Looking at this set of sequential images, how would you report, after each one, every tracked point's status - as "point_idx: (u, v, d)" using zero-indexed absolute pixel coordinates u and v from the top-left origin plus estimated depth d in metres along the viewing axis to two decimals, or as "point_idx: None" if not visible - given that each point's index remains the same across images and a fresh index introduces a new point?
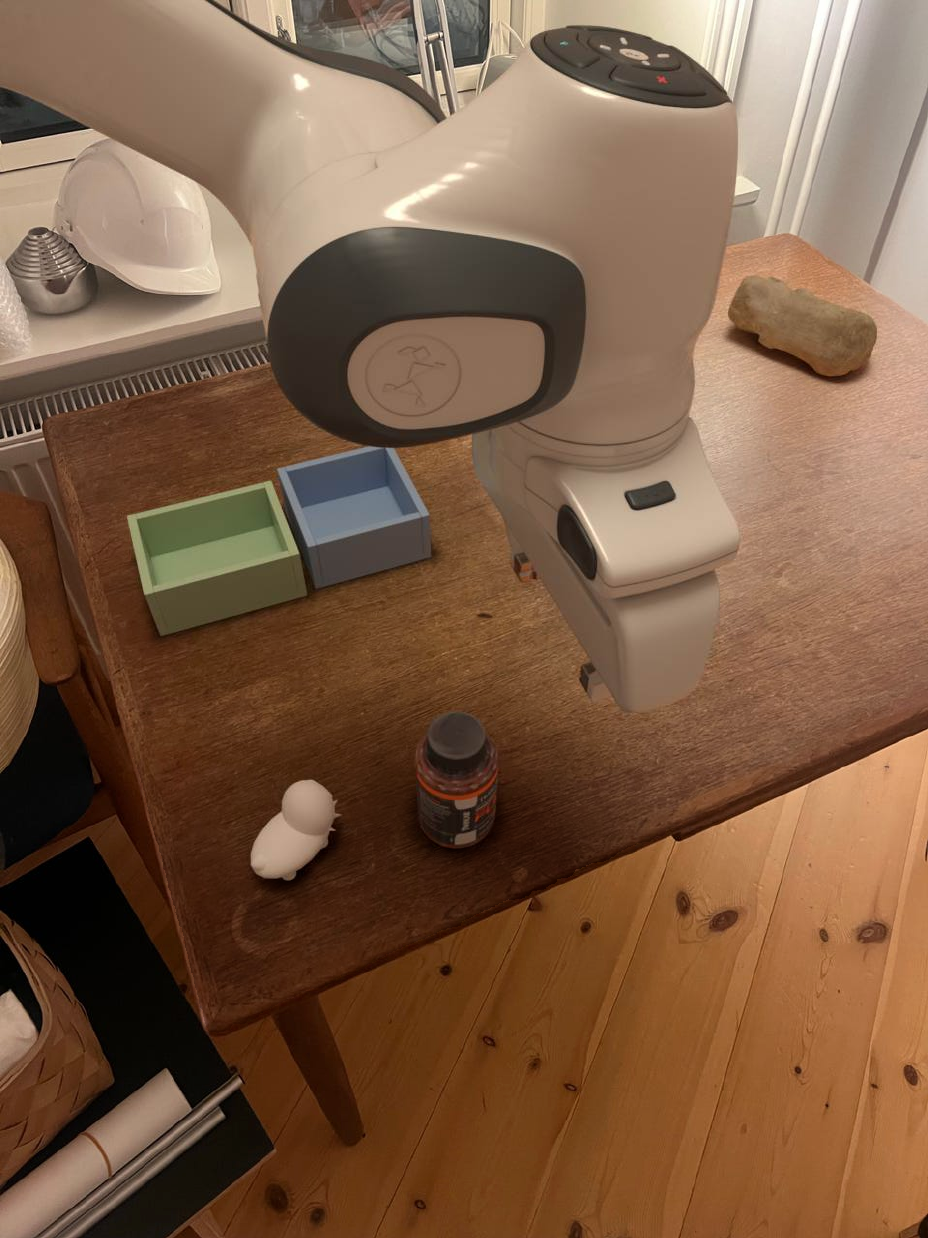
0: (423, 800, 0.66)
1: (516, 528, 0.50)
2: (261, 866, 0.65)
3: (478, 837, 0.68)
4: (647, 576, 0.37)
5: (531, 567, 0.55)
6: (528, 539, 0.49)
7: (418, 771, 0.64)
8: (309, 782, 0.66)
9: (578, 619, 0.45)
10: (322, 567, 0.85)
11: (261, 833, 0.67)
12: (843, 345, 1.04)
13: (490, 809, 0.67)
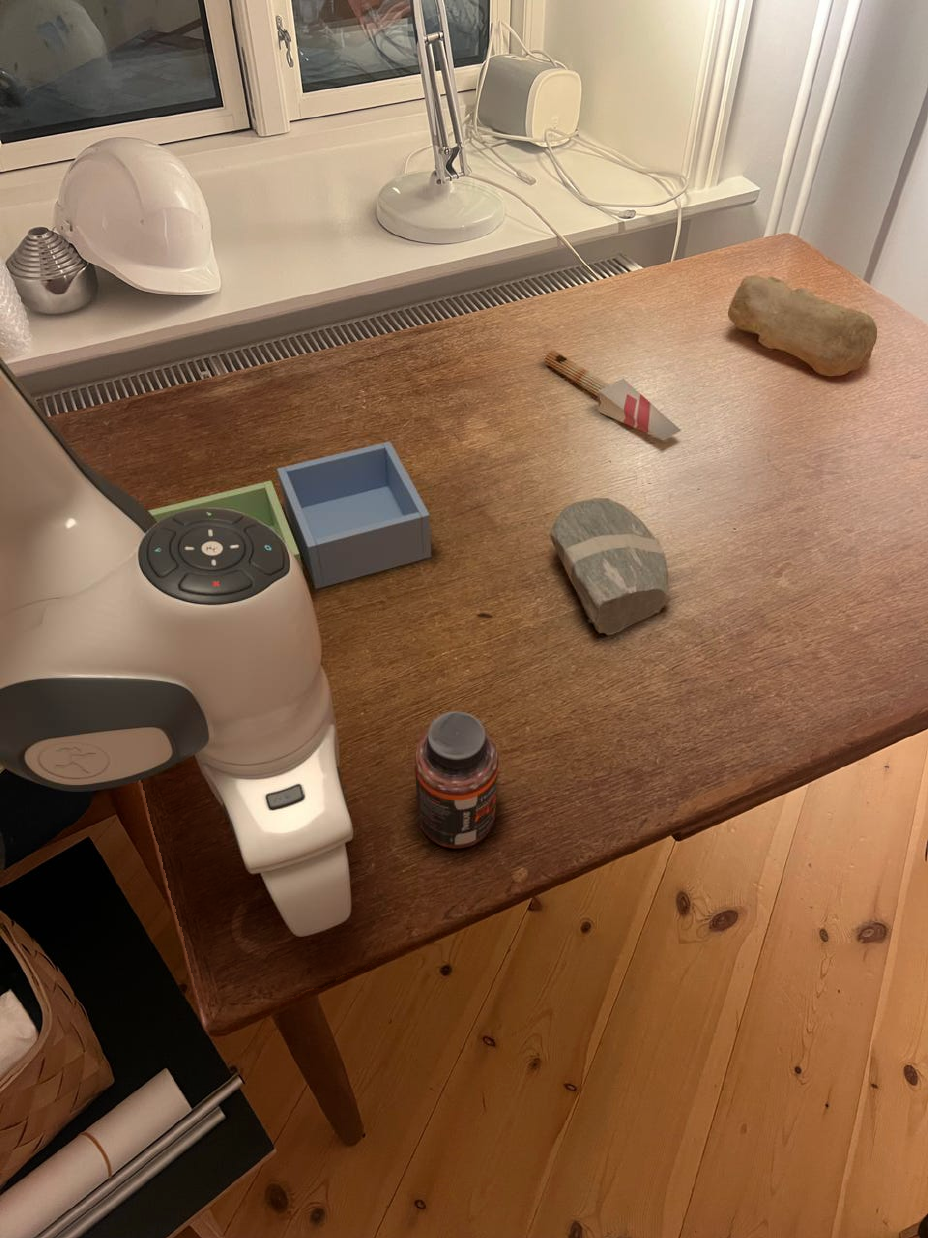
0: (423, 800, 0.66)
1: None
2: None
3: (478, 837, 0.68)
4: (276, 861, 0.52)
5: None
6: None
7: (418, 771, 0.64)
8: None
9: None
10: (322, 567, 0.85)
11: None
12: (843, 345, 1.04)
13: (490, 809, 0.67)
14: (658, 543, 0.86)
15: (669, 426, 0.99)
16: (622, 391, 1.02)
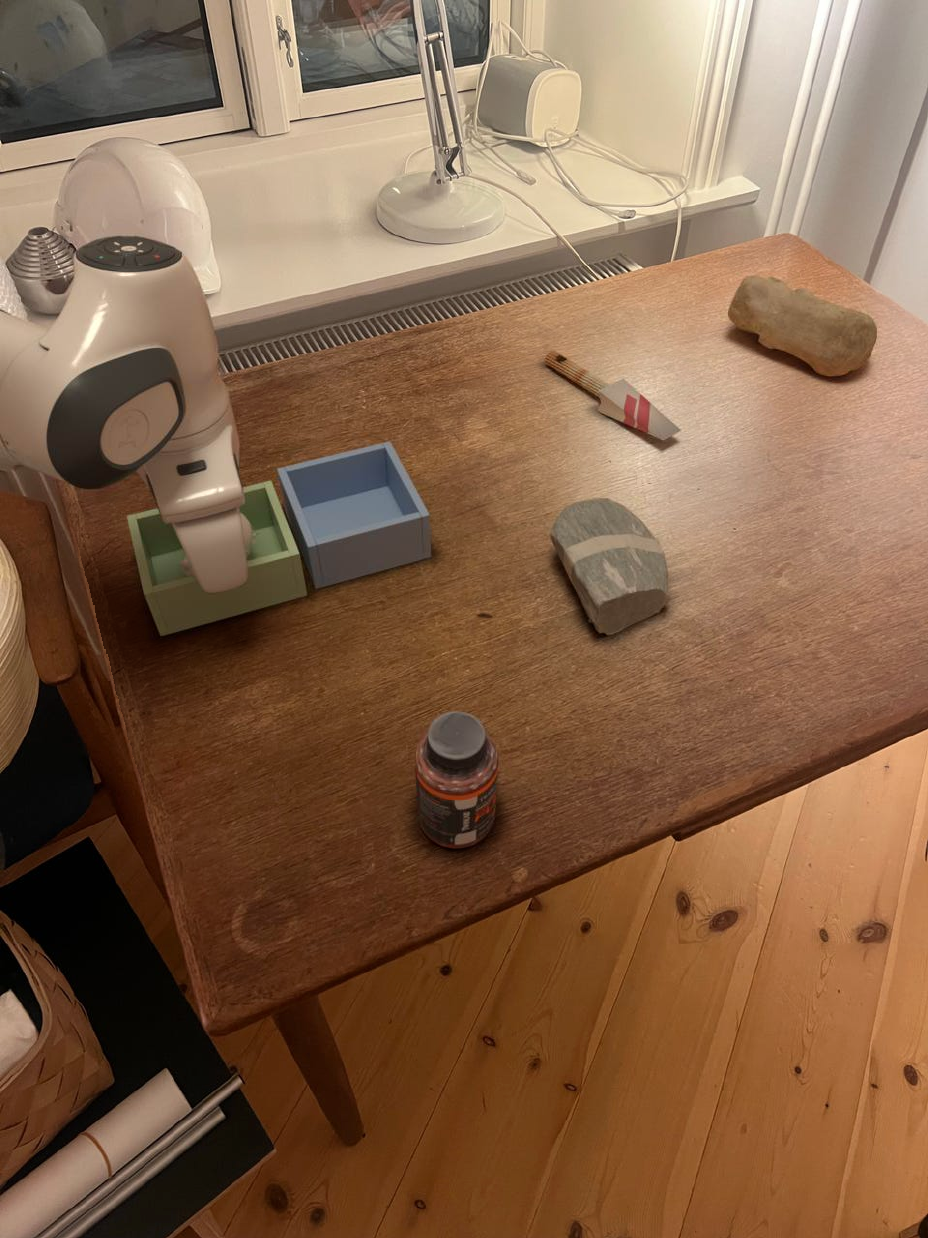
0: (423, 800, 0.66)
1: None
2: (187, 567, 0.83)
3: (478, 837, 0.68)
4: (183, 510, 0.69)
5: None
6: None
7: (418, 771, 0.64)
8: None
9: None
10: (322, 567, 0.85)
11: None
12: (843, 345, 1.04)
13: (490, 809, 0.67)
14: (658, 543, 0.86)
15: (669, 426, 0.99)
16: (622, 391, 1.02)
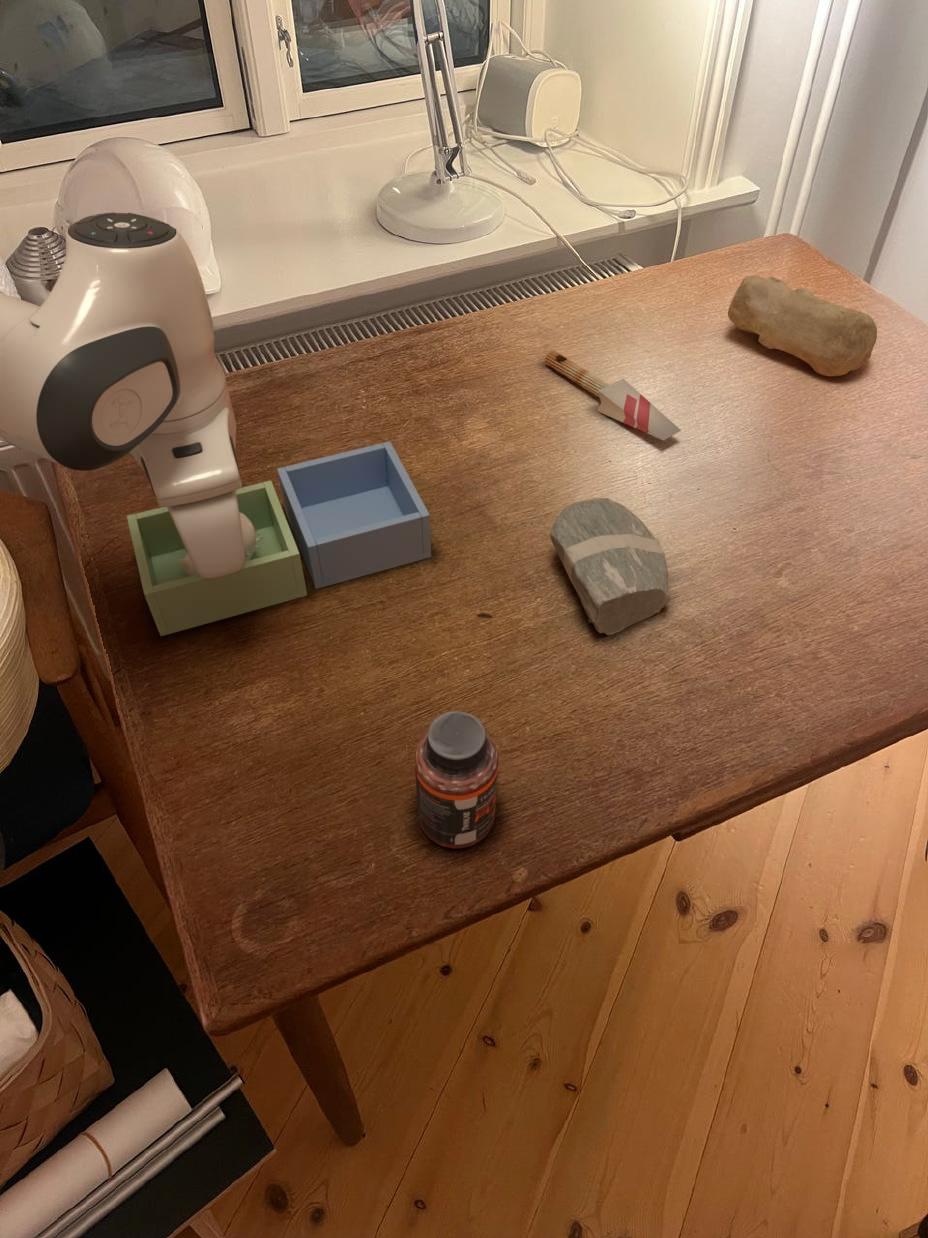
0: (423, 800, 0.66)
1: None
2: (186, 565, 0.83)
3: (478, 837, 0.68)
4: (179, 493, 0.68)
5: None
6: None
7: (418, 771, 0.64)
8: None
9: None
10: (322, 567, 0.85)
11: None
12: (843, 345, 1.04)
13: (490, 809, 0.67)
14: (658, 543, 0.86)
15: (669, 426, 0.99)
16: (622, 391, 1.02)
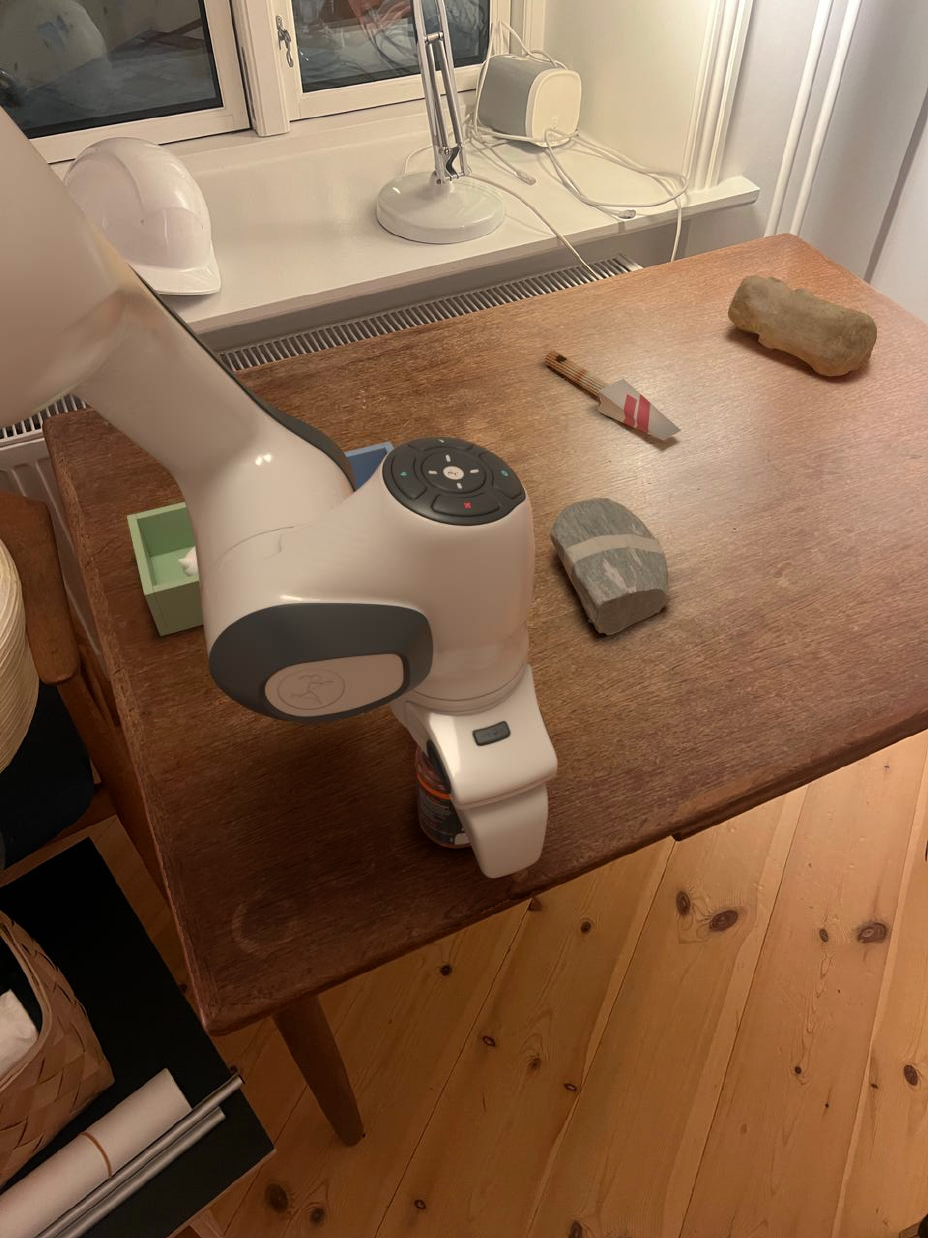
0: (423, 800, 0.66)
1: None
2: (186, 565, 0.83)
3: None
4: (486, 796, 0.51)
5: None
6: None
7: (418, 771, 0.64)
8: None
9: None
10: None
11: None
12: (843, 345, 1.04)
13: None
14: (658, 543, 0.86)
15: (669, 426, 0.99)
16: (622, 391, 1.02)
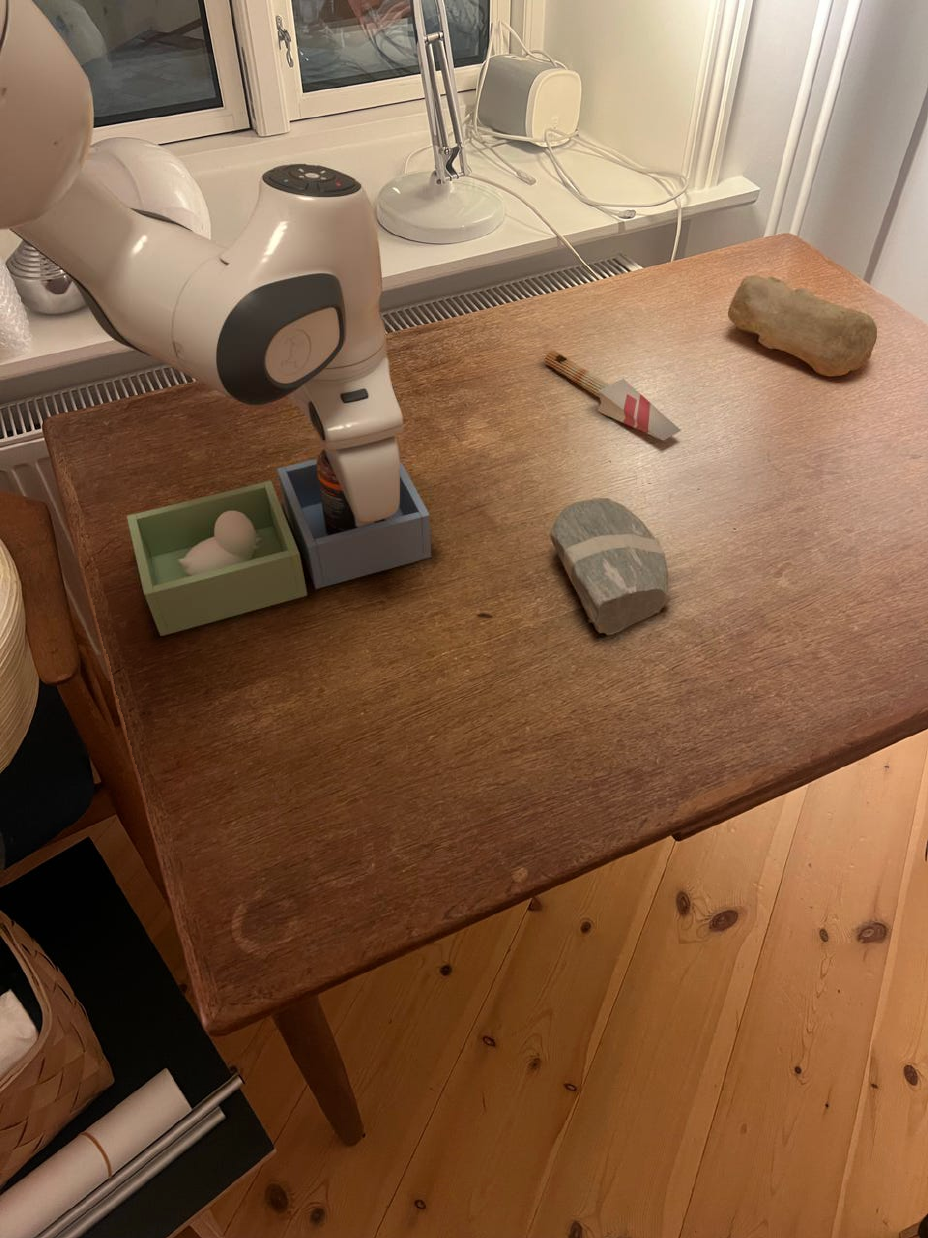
0: (324, 499, 0.85)
1: (316, 429, 0.84)
2: (186, 565, 0.83)
3: None
4: (348, 436, 0.71)
5: None
6: None
7: (318, 470, 0.84)
8: (238, 512, 0.84)
9: (338, 474, 0.79)
10: (322, 567, 0.85)
11: (196, 545, 0.85)
12: (843, 345, 1.04)
13: None
14: (658, 543, 0.86)
15: (669, 426, 0.99)
16: (622, 391, 1.02)
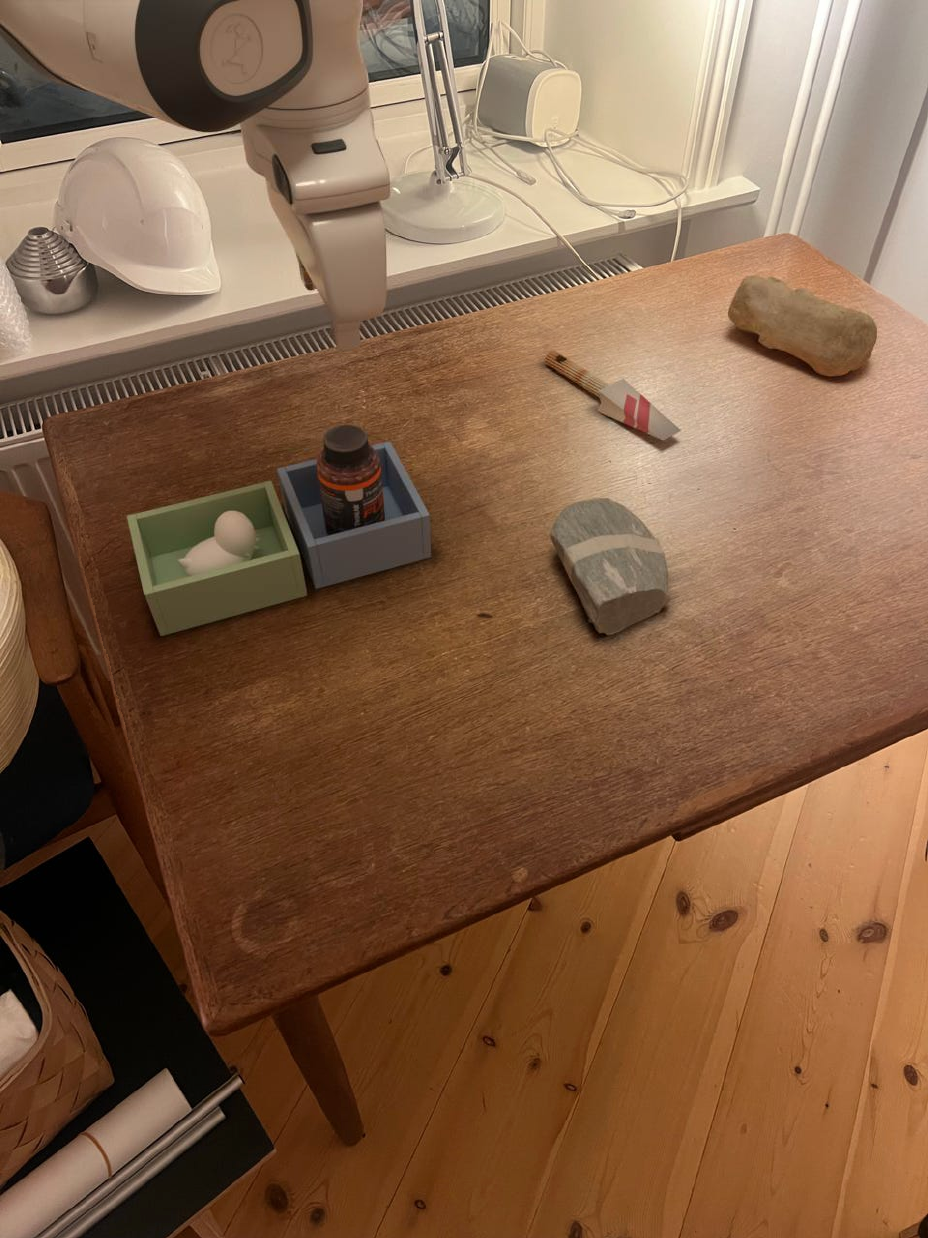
0: (324, 499, 0.85)
1: (287, 228, 0.70)
2: (186, 565, 0.83)
3: None
4: (321, 193, 0.57)
5: None
6: (291, 230, 0.69)
7: (318, 470, 0.84)
8: (238, 512, 0.84)
9: (312, 269, 0.65)
10: (322, 567, 0.85)
11: (196, 545, 0.85)
12: (843, 345, 1.04)
13: (377, 510, 0.87)
14: (658, 543, 0.86)
15: (669, 426, 0.99)
16: (622, 391, 1.02)
